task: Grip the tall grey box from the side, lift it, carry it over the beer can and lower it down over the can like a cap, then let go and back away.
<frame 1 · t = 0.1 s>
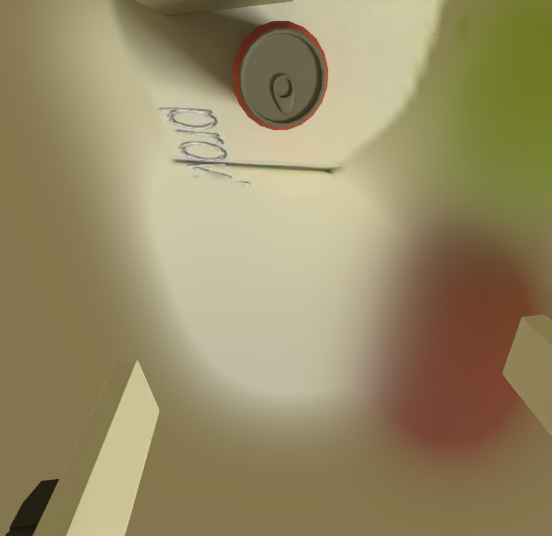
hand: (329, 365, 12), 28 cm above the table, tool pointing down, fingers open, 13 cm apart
beer can: (274, 75, 32), on the table
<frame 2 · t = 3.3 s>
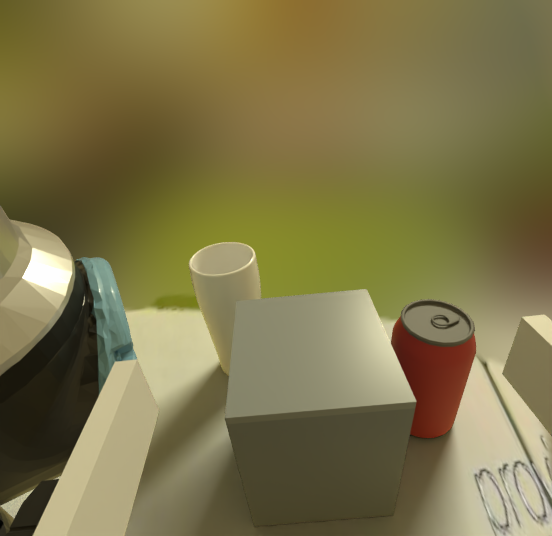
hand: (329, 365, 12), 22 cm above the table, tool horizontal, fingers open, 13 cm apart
beer can: (417, 411, 35), on the table
tall grey box: (314, 452, 32), on the table
drinking glass: (243, 364, 42), on the table
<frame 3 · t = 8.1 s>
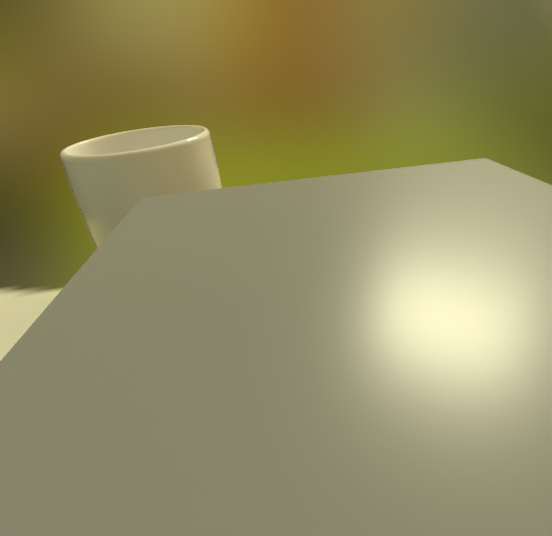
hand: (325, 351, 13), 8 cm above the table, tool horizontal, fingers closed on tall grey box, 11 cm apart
drinking glass: (205, 369, 24), on the table
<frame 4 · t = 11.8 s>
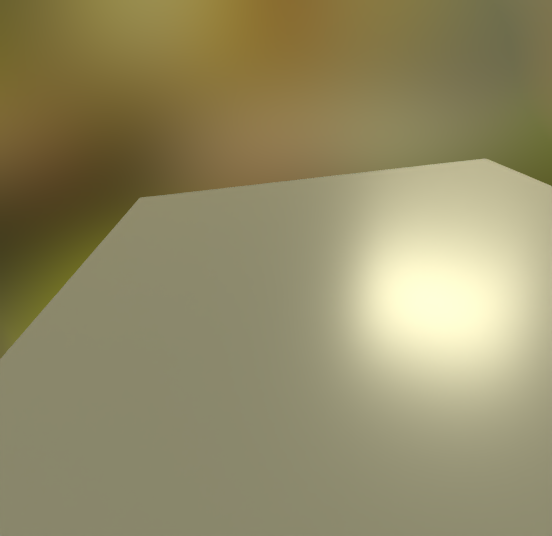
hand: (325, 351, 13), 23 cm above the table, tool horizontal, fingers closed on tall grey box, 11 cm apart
when the fingers open (9 cm above the table, at t = 15.6 s): tall grey box stays where it is, on the table.
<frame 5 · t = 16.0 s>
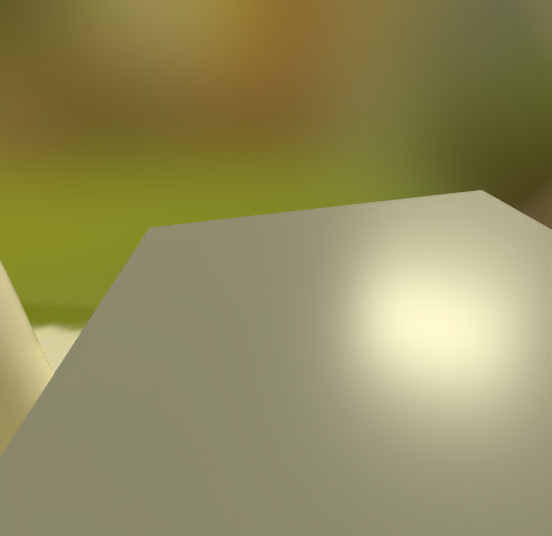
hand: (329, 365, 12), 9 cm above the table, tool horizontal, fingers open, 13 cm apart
drinking glass: (29, 435, 22), on the table
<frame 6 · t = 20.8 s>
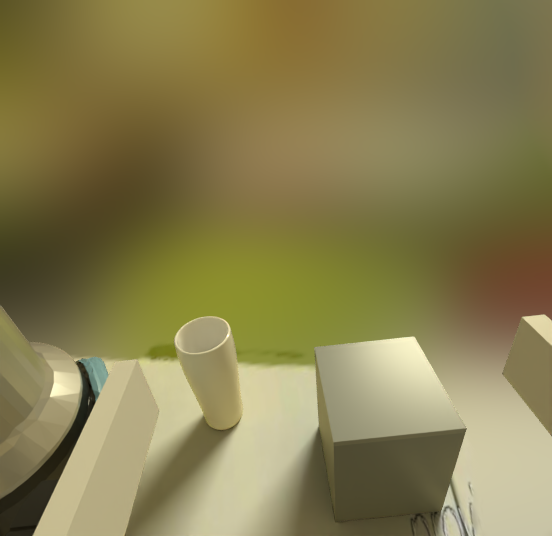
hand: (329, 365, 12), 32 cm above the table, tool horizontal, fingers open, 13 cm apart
tall grey box: (372, 463, 40), on the table
drinking glass: (225, 415, 48), on the table
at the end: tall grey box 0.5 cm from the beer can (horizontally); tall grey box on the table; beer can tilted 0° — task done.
